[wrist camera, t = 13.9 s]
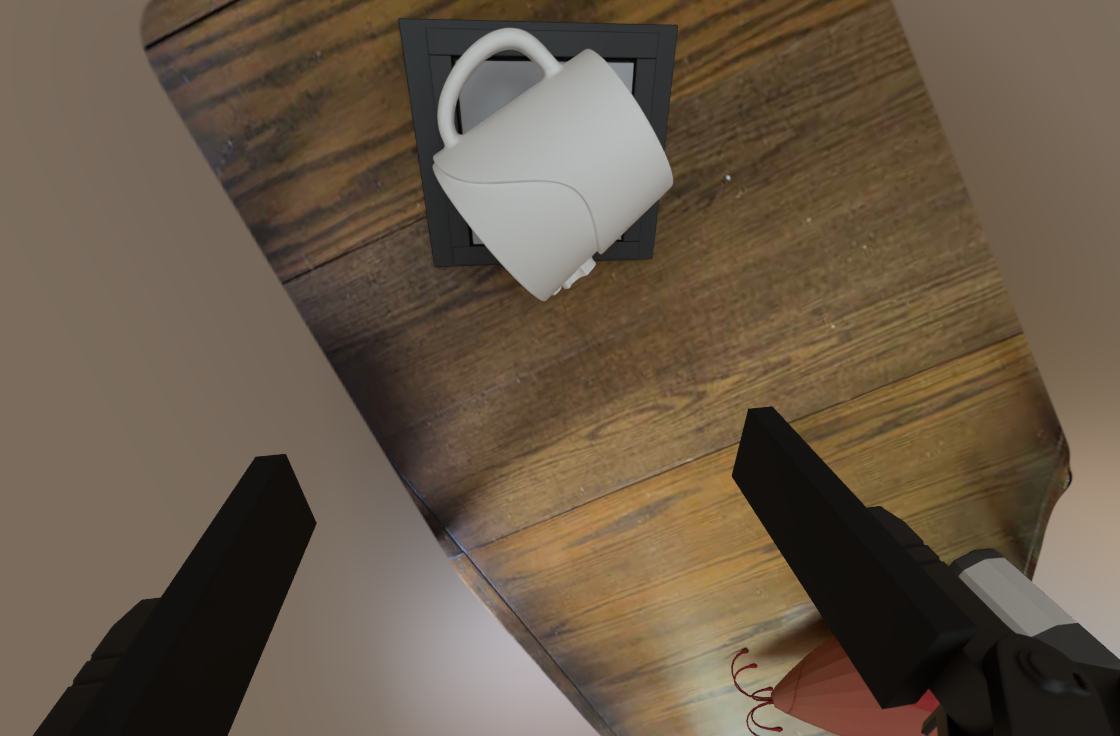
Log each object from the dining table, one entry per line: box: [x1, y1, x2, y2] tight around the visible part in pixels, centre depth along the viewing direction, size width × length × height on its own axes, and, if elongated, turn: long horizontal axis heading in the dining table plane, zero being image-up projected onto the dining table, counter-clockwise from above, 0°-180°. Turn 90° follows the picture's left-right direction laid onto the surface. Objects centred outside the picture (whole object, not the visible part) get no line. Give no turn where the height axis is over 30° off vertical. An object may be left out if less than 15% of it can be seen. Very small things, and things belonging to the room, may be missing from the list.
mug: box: [433, 28, 673, 301], centre depth 24 cm, size 12×9×8 cm
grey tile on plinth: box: [456, 60, 634, 244], centre depth 28 cm, size 10×10×2 cm
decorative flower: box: [731, 636, 940, 736], centre depth 60 cm, size 22×23×30 cm
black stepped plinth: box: [399, 18, 678, 267], centre depth 29 cm, size 16×14×3 cm
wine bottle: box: [949, 549, 1120, 670], centre depth 52 cm, size 8×8×30 cm
